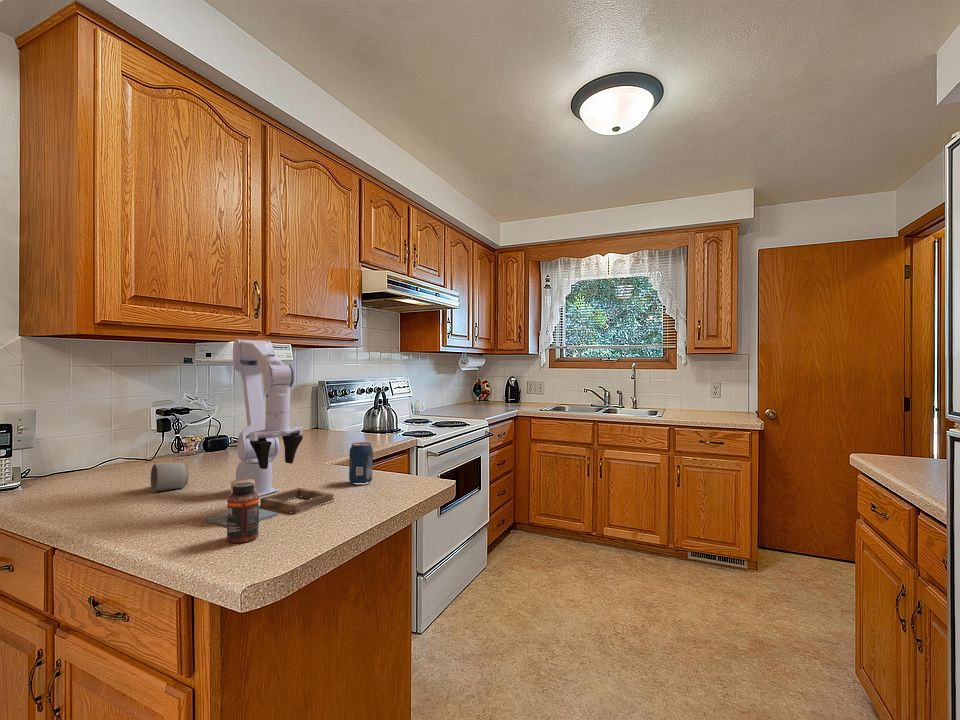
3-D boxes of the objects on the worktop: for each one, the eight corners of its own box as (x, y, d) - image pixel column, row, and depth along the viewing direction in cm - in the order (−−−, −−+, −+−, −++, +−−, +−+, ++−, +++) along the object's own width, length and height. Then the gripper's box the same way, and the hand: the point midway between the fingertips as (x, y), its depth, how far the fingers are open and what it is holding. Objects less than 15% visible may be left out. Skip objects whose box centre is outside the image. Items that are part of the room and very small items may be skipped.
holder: (260, 506, 122) (260, 498, 122) (299, 494, 133) (299, 487, 133) (295, 514, 116) (295, 505, 116) (333, 501, 127) (333, 493, 127)
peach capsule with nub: (225, 516, 111) (226, 482, 111) (244, 511, 116) (245, 477, 116) (244, 521, 108) (245, 485, 108) (263, 515, 113) (263, 481, 113)
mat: (204, 520, 110) (204, 518, 110) (247, 508, 120) (247, 506, 120) (235, 529, 105) (235, 526, 105) (277, 515, 115) (277, 512, 115)
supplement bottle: (263, 533, 102) (264, 480, 103) (251, 544, 97) (252, 487, 97) (235, 533, 102) (236, 480, 102) (220, 544, 96) (222, 487, 96)
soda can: (350, 480, 150) (351, 442, 150) (373, 480, 151) (374, 442, 151) (347, 486, 143) (347, 445, 143) (370, 485, 144) (371, 445, 144)
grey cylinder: (190, 489, 137) (190, 462, 138) (156, 494, 131) (156, 466, 132) (178, 483, 145) (179, 457, 145) (146, 488, 139) (146, 461, 139)
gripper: (263, 415, 114) (261, 473, 114) (311, 410, 127) (310, 462, 127) (244, 413, 117) (242, 469, 117) (292, 409, 130) (291, 459, 130)
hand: (276, 465), depth 122 cm, fingers open, 7 cm apart
